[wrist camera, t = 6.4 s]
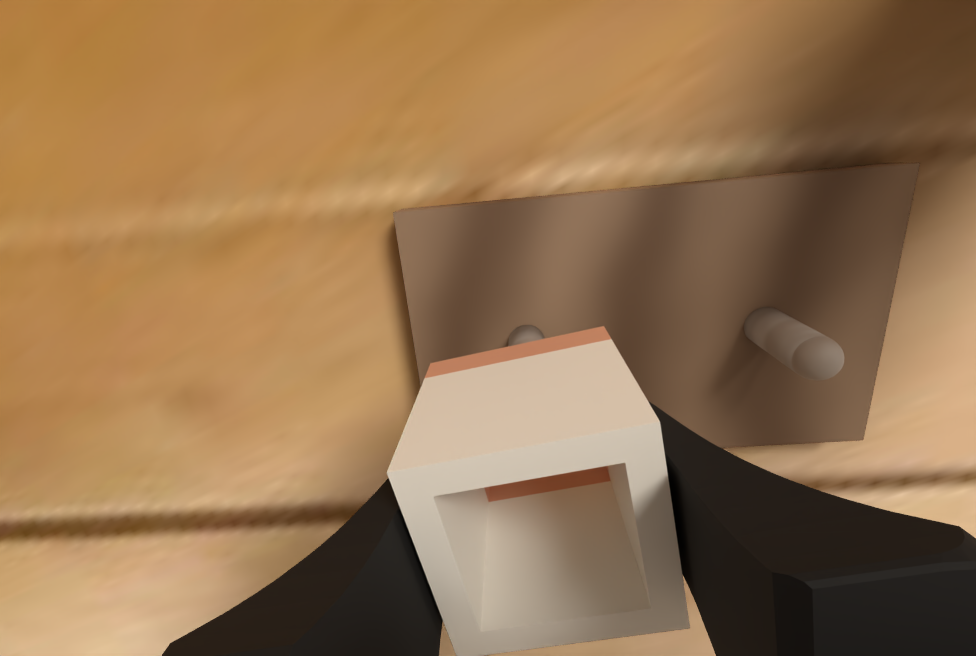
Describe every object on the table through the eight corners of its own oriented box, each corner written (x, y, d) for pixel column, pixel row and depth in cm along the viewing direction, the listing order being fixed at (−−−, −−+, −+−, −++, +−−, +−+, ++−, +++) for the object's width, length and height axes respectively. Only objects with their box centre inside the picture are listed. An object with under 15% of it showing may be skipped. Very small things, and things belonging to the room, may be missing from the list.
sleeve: (603, 325, 13) (660, 422, 8) (630, 474, 14) (690, 627, 9) (430, 363, 13) (386, 472, 8) (474, 501, 15) (457, 658, 10)
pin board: (888, 163, 18) (1048, 161, 13) (840, 423, 22) (947, 505, 17) (401, 209, 20) (360, 225, 14) (437, 445, 24) (415, 528, 18)
